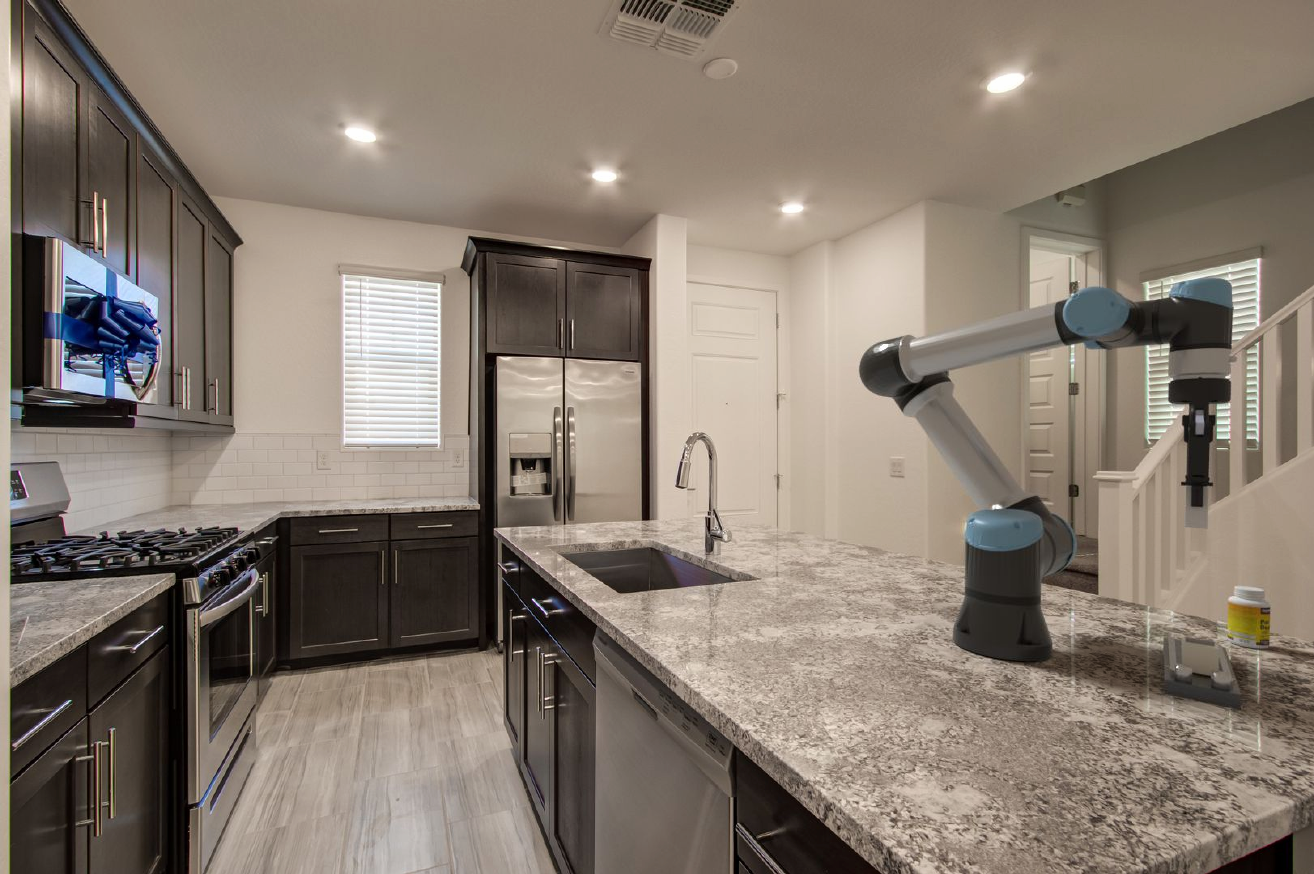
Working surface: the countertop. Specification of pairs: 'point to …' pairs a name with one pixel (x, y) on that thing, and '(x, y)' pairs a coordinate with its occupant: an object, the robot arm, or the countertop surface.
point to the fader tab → (1200, 655)
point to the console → (1199, 678)
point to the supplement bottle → (1249, 618)
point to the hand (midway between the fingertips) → (1195, 527)
